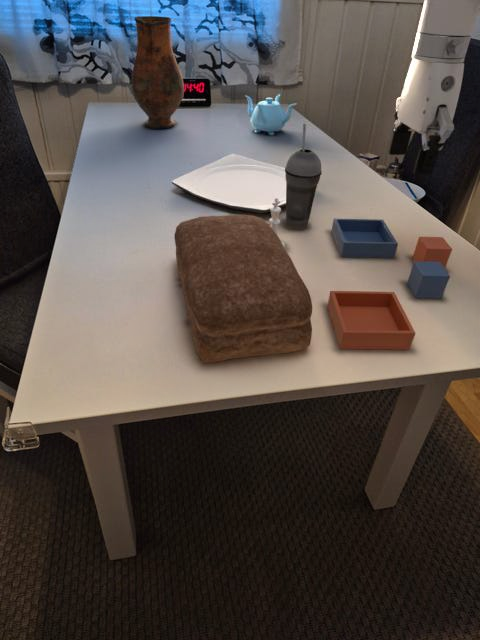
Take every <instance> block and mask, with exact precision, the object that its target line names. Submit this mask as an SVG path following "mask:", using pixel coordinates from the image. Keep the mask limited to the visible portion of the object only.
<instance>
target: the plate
mask: <svg viewBox="0 0 480 640" xmlns="http://www.w3.org/2000/svg"><path fill="white" fill-rule="evenodd" d="M285 168H286V167H283V166H280V165H275V164H272V163H268V162H265V161H260V160H257V159H254V158H250V157H247V156H243V155H240V154H238V153H237V154H236V153H230V154H228V155H226V156H224V157H221V158H219V159H216V160H214V161H212V162H210V163H208V164H206V165H203V166H201V167H199V168H197V169H194V170H192V171H190V172H188V173H186V174H184V175H181V176H179V177H177V178H173V179H172V180H171V184H172V185H174V186H175V187H177V188H179V189H181V190H182V191H184V192H186V193H188V194H190V195H192V196H194V197H195V198H198V199H201V200H204V201H207V202H209V203H213V204H216V205H219V206H223V207H225V208H229V209H234V210H240V211H246V212H252V213H259V214H266V213H269V212H271V211H270V208H271V207H273V205H272V203H273V202H275V198H278V200H279V201H280V203H279V204H278V207H280V208H283V207H286V177H285V173H286V172H285Z"/></svg>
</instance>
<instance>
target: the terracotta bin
mask: <svg viewBox="0 0 480 640" xmlns="http://www.w3.org/2000/svg"><path fill="white" fill-rule="evenodd" d="M326 307H327V310H328V314H329V317H330V320H331V324H332V327H333V331H334V333H335V337H336V340H337V343H338V346H339V349H341V350H346V349H347V350H406V351H407V350H411V347H412V345H413V342H414V339H415V336H416V331H415V330H414V328H413V326H412V323H411V322H410V319H409V318H408V316H407V314H406V312H405V310H404V308H403V306H402V304H401V302H400V300H399V299H398V296H397V294H396V293H395V291H371V290H370V291H369V290H368V291H367V290H365V291H364V290H363V291H362V290H361V291H360V290H330V292H329V295H328V300H327V306H326Z"/></svg>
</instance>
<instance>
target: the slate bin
mask: <svg viewBox="0 0 480 640" xmlns="http://www.w3.org/2000/svg"><path fill="white" fill-rule="evenodd" d="M331 225H332V226H331V232H330V233H331V235H332V237H333V241H334V242H335V245H336V247H337V250H338V252H339V256H340V257H341V258H364V259H365V258H369V259H371V258H372V259H394V258H395V256H396V252H397V249H398V245H399V242H397V240H396V238H395V236H394V235H393V233H392V232H391V230H390V229H389V227H388V225H387V224H386V222H385V220H384V219H374V218H373V219H372V218H369V219H368V218H333V220H332V224H331Z"/></svg>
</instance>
